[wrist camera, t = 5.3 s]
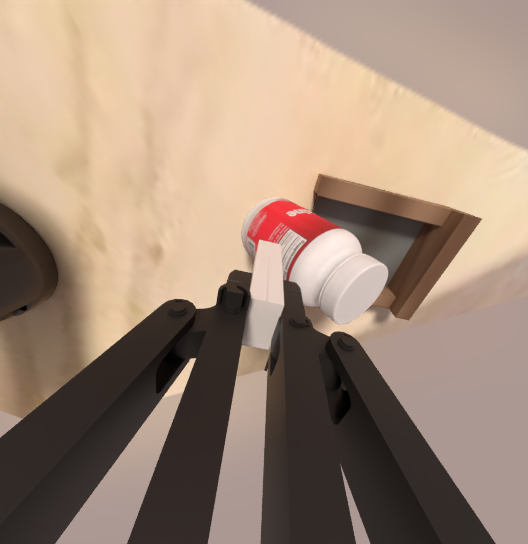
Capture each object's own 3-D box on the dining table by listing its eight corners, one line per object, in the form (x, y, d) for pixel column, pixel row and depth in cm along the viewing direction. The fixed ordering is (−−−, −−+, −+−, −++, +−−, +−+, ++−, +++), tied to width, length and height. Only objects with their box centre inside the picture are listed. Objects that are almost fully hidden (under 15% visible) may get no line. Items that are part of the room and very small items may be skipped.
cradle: (286, 274, 26) (288, 294, 22) (319, 173, 21) (328, 179, 17) (391, 297, 27) (408, 320, 23) (448, 206, 22) (482, 218, 18)
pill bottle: (303, 211, 23) (407, 267, 15) (272, 262, 24) (353, 334, 17) (261, 181, 19) (376, 238, 11) (226, 245, 20) (307, 333, 13)
